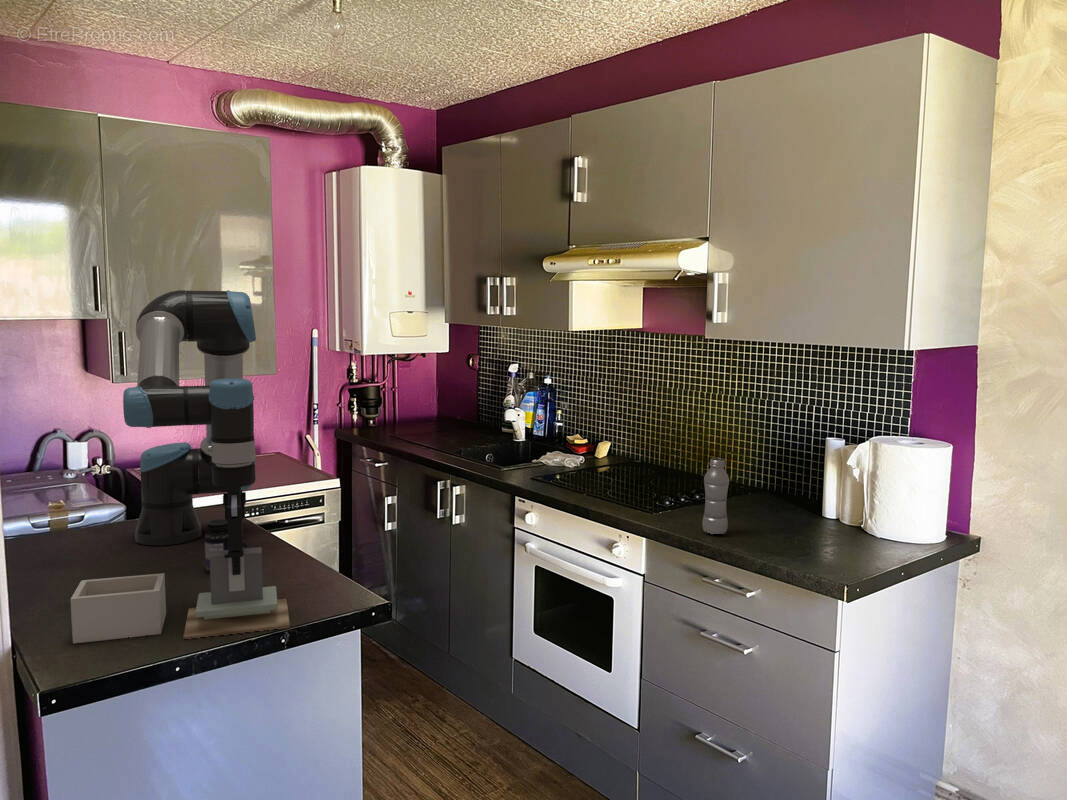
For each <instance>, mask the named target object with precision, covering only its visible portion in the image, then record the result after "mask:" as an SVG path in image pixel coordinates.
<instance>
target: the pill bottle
mask: <svg viewBox="0 0 1067 800" xmlns="http://www.w3.org/2000/svg"><path fill="white" fill-rule="evenodd" d="M206 526H207V527H206V528H207V529H208V532H207V533H205V534H204V555H205V558H204V559H205V560H204V561H205V571H206V573H209V574H210V552H211V551H220V550H228V523H227V520H226V519H225V518H221V519H220V518H218V519H212V520H209V521H208V522H207V525H206Z"/></svg>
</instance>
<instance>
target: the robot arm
mask: <svg viewBox="0 0 1067 800" xmlns="http://www.w3.org/2000/svg"><path fill="white" fill-rule="evenodd" d="M253 314H254V313H253V309H252V302H251V298H250V296H249V294H248V293H246V292H244V291H233V290H232V291H231V290H186V289H178V290H173V291H169V292H166V293H163V294H161V295H159V296H157V297H155V298H154V299H153V300H152V301H150V302H149V303H148V304H147V305H145V307H144V308H142V310H141V311H140V313H139V315H138V317H137V319H136V324H135V334H136V337H137V340H138V341H139V352H138V354H139V355H138V367H137V382H136V383H137V384H136V386H134V387H133V386H132V387H127V388H125V389H124V391H123V394H122V395H123V397H122V405H123V406H122V408H123V420H124V423H125V425H126V426H128V427H129V428H130V427H131V428H146V429H150V428H157V427H158V428H160V427H161V428H162V427H178V426H179V427H180V426H206V427H205V430H206V437H204V438H203V439H202V440H201V442H200V445H199V448H192V445H191V443H189V442H174V443H166V444H161V445H157V446H153V447H151V448H148V449H145V450H144V451H143V452H142V453H141V454H140V459H139V461H140V464H139V465H140V468H139V470H138V471H139V472H140V487H141V488H140V490H141V491H140V492H141V511H140V514H139V518H138V521H137V525H136V528H135V530H134V531H135V533H134V536H135V542H136V543H138V544H140V545H145V546H152V547H153V546H156V547H157V546H171V545H172V546H173V545H178V544H184V543H188V542H191V541H195V540H197V539H198V538H200V537H201V536H202V525H201V523H200V520H199V517H198V515H197V512H196V509H195V508H194V507H195V506H194V500H193V496H194V495H195V496H197V495H210V494H221V493H222V495H223V496H222V505H223V507H224V519H226V520H227V523H228V554H225V555H224V558H228V569H229V592H231V591H241V590H245V578H244V551H243V549H245V548H248V542H247V541H246V542H244V540H245V538H244V537H245V536H243V535H244V533H243V532H244V531H243V526H244V525H243V520H244V519H245V516H246V507H245V505H246V503H247V501H246V500H247V497H246V496H247V493H246V491H248V490H249V489H250V488H251V487H252V485H254V483H256V478H257V477H256V458H257V456H256V455H257V454H256V453H257V452H256V439H255V433H254V431H255V420H254V419H255V415H254V412H255V411H254V408H255V407H254V402H255V396H254V390H253V387H254V386H253V383H252V381H251V380H249V379H245V378H244V364H243V363H244V355H245V354H246V353H247V352H248V351H249V349H250V343H252V342H256V340H257V335H256V329H255V321H254V315H253ZM182 342H190V343H192V342H195V343H196V348H197V350H198V351H199V352H200V353H202V354H203V356H204V357H203V358H204V385H180V343H182Z"/></svg>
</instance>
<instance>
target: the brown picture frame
mask: <svg viewBox="0 0 1067 800" xmlns="http://www.w3.org/2000/svg"><path fill="white" fill-rule="evenodd" d="M277 607H278V609H275V610H270V613H262V614H252V615H242V616H233V617H223V618H214V619H204V617H197V618H196V613H195V612H196V607H190V608H188V610H187V616H186V620H185V626H184V632H183V640H184V639H189V640H192V639H191V638H197V639H201V638H200V637H206V638H209V637H208V636H215V637H220V636H219V635H224V636H230V635H229V634H233V635H238V634H237V633H242V634H246V633H245V632H251V633H255V632H254V631H260V632H267V631H266V630H269V631H274V630H273V629H278V630H286V629H290V628H291V625H290V617H289V616H290V615H289V609H288V602H287V598H281V599H279V598H277ZM264 630H265V631H264Z"/></svg>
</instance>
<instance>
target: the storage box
mask: <svg viewBox="0 0 1067 800" xmlns="http://www.w3.org/2000/svg"><path fill="white" fill-rule="evenodd" d="M165 580H166V577H165V572H162V573H152V574H151V573H150V574H141V575H129V576H118V577H117V576H116V577H115V576H114V577H107V578H93V579H84V580H81V581H80V582H79V584H78V586H77V588H76V589H75V591H74V593H73V594H72V596H71V597H70V615H71V632H72V633H71V634H72V644H81V643H90V642H91V643H92V642H98V641H99V642H100V641H110V640H117V639H128V637H129V638H136V637H146V635H147V636H153V635H155V636H156V635H162V633H163V632H162V631H163V627H164V624H165V620H166V615H167V603H166V602H167V601H166V597H167V596H166V581H165Z"/></svg>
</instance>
